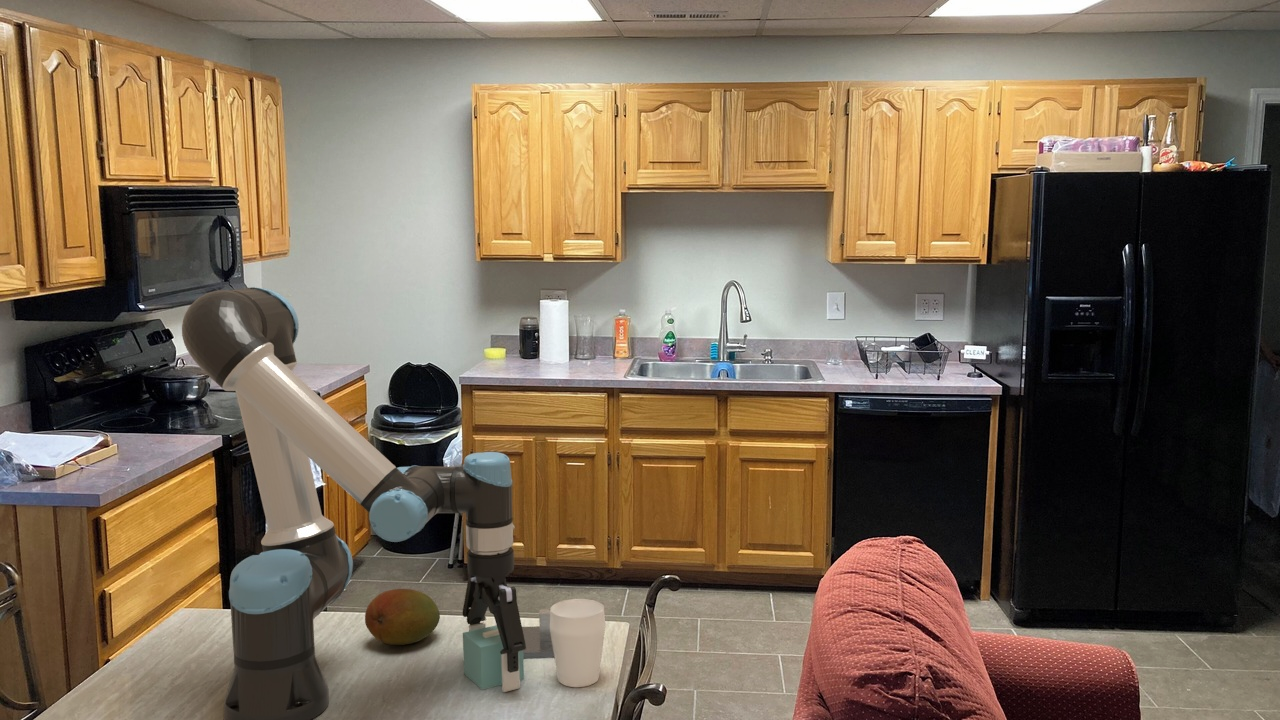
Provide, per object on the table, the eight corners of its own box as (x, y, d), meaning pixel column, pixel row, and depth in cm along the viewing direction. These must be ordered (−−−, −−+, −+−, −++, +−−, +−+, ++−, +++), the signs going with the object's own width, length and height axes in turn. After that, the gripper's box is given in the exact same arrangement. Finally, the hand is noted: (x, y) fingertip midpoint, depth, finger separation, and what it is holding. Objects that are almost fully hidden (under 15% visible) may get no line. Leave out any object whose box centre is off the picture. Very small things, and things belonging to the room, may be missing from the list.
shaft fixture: (509, 658, 173) (508, 624, 173) (515, 632, 185) (514, 600, 185) (579, 656, 174) (579, 623, 173) (581, 630, 186) (580, 599, 185)
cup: (598, 693, 160) (597, 619, 158) (543, 688, 161) (542, 616, 160) (611, 669, 168) (610, 600, 167) (559, 665, 170) (558, 597, 169)
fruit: (355, 647, 179) (353, 593, 178) (404, 624, 190) (402, 573, 189) (405, 660, 173) (403, 604, 172) (452, 635, 184) (451, 582, 183)
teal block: (481, 689, 161) (480, 643, 160) (463, 673, 167) (462, 629, 167) (523, 678, 165) (522, 634, 164) (504, 663, 171) (503, 620, 171)
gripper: (545, 563, 156) (548, 696, 158) (481, 527, 176) (485, 645, 179) (500, 572, 152) (504, 708, 154) (440, 534, 172) (444, 655, 175)
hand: (494, 675), depth 166 cm, fingers open, 12 cm apart
